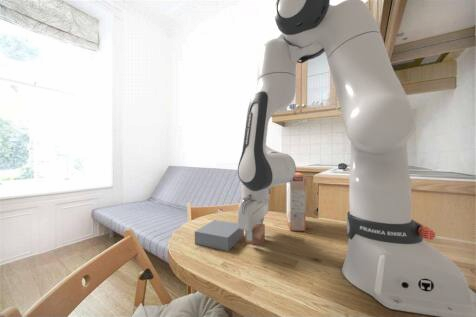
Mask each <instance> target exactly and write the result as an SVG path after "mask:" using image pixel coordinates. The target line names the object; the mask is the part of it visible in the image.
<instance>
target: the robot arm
mask: <svg viewBox="0 0 476 317" xmlns="http://www.w3.org/2000/svg"><path fill="white" fill-rule="evenodd" d="M275 2H276V3H275V5H274V11H273V13H274V19H275V23H276V26H277V28H278V30H279V31H280V33H281V34H280V35H279V36H278V37H276V38H273V39H270V40H268V41H267V42H266V43H264V45H263V46H262V48H261V51H260V54H259V59H258V67H257V87H256V92H255V94H253V95H252V97H251V99H249V100H250V101H249V105H248V107H247V112H246V113H247V114H246V121H245V128H244V135H243V136H244V138H243V143H242V150H241V155H240V158H239V161H238V166H237V175H238V179H239V181H240V183H241V187H240V188H241V199H242V201H241V202H240V203H239V205H238V209H237V210H238V211H237V212H238V214H237V223H238V227H239V229H242V230H244V234H245V233H246V238H247V240H248V241H252V239H253V238H254V237H253V233H252V229H253V226H254V225H255V224H256V223H259V224H264V219H265V216H266V215H267V214H268V212H269V209H270V195H271V193H272V192H271V187H272V188H273V187H277V186H281V185H285V184H287V183H288V182H290V181H291V180H292V179H293V178H294V176H295V173H296V172H297V166H296V163H295V161H294V160H295V159H293V157H292V156H291V155H289V154H287V153H284V152H281V151H277V150H275V149H272V148H270V146H268V145H267V136H268V128H269V122H270V119H271V117H272V116H273V115H274V114H275V113H278V112H280V111H283V110H285V109H286V108H288V106H290V105H291V103H293V101H294V99H295V95H296V90H297V89H296V88H297V63H298V64H303V63H305V62H307V61H309V60H313V59H316V58H317V57H319V56H321V55H322V54H324V53H325V56H326V60H327V63H328V67H329V71H330V73H331V77H332V80H333V84H334V87H335V88H334V89H335V90H336V95H337V99H338V104H339V107H340V111H341V117H342V120H343V123H344V126H345V131H346V136H347V137H348V140H349V141H350V160H349V164H350V165H349V180H348V181H349V185H348V186H349V191H348V192H349V194H348V196H349V197H348V198H349V211H348V212H347V217H346V234H347V237H348V241H347V248H346V255H345V258H344V262H343V265H342V268H341V271H342V274H343V275H344V277H345V278H346V279H347V281H348V282H350V284H352V285H353V286H355V287H356V288H358V289H359V290H361V291H363V292H364V293H366V294H368V295H369V296H372V297H373V298H374V299H375V300H376V301H378V303H380V304H382V306H384V307H386V308H388V309H391V310H395V311H402V312H408V313H415V314H421V315H428V316H435V317H476V292H475V291H473V290H472V289H471V288H470V287H469V285H468V282H467V279H466V276H465V275H464V272H462V270H461V269H460V267H458V265H457V264H456V263H455V262H453V261H452V260H451V259H450V258H449V257H447V256H446V255H445V254H443V253H442V252H441V251H439V249H436V248H435V246H433V245H431V243H429V242H427V241H432V240H434V239H436V236H437V235H436V232H435V231H434V230H432V229H431V228H430V227H428V226H424V225H423V224H421V223H420V222H418V221H416V220H414V219H413V218H412V181H411V180H412V179H411V174H410V168H409V166H410V165H409V158H408V145H407V143H408V142H409V140H410V139H411V138H412V137H413V135H414V133H415V130H416V126H417V117H416V114H415V112H414V109H413V108H412V105H411V102H410V100H409V98H408V96H407V93H406V92H405V89H404V88H403V85H402V84H401V81H400V79H399V78H398V76H397V74H396V72H395V70H394V68H393V66H392V63H391V60H390V57H389V54H388V51H387V47H386V45H385V41H384V39H383V36H382V32H381V31H380V28H379V25H378V24H377V21H376V19H375V17H374V16H373V13H372V12H371V10H370V8H369V7H368V6H367V5H366V3H365V2H364V1H363V0H344V1H342V2H340V3H338V4H336V5H332V4H331V3H330V2H331V0H276V1H275ZM424 239H425V240H424Z"/></svg>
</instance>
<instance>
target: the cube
mask: <svg viewBox="0 0 476 317" xmlns="http://www.w3.org/2000/svg"><path fill="white" fill-rule="evenodd" d="M265 226H266V225H265V224H264V223H263V224H259V223H256V224H255V225H254V226H253V229H252V233H253V237H254V238H253V239H252V241H248V240H247V238H246V233H245V232H244V235H245V239H244V240H245V244H246V243H247V244H253V245H258V246H261V244H263V242H264V241H265V239H266V231H265V230H266V228H265Z"/></svg>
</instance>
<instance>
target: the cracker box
mask: <svg viewBox="0 0 476 317" xmlns="http://www.w3.org/2000/svg"><path fill="white" fill-rule="evenodd" d="M306 179H307V178H306V175H305V174H303V173H301V172H297V171H296V173H295V176H294V178H293V179H292V180H291V181H290V182H288V183H286V221H287V225H288V227H289V228H288V229H289V230H290V231H292V232H293V231H295V232H306Z"/></svg>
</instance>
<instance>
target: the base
mask: <svg viewBox="0 0 476 317" xmlns="http://www.w3.org/2000/svg"><path fill="white" fill-rule="evenodd" d="M244 235H245V230H242V229H239V227H238V222H237V223H235V222H230V221H223V220H217V219H216V220H215V219H213V220H212V221H211V222H209V223H207V224H205V225H204V226H201V227H200V228H198V229H197V230H195V231H194V244H195V245H199V246H202V247H207V248H213V249H217V250H221V251H225V252H226V251H227V252H228V251H229V250H231V249H232V248H233V247H234V246H235V245H236V244H237V243H238V242H239V241H240V240H241V239H242V238H243V237H244Z"/></svg>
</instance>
